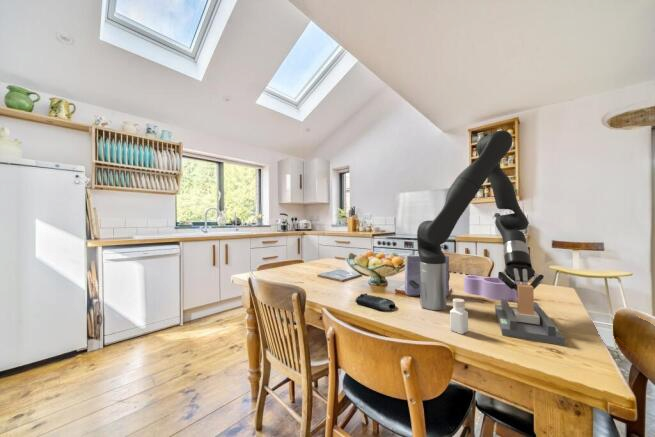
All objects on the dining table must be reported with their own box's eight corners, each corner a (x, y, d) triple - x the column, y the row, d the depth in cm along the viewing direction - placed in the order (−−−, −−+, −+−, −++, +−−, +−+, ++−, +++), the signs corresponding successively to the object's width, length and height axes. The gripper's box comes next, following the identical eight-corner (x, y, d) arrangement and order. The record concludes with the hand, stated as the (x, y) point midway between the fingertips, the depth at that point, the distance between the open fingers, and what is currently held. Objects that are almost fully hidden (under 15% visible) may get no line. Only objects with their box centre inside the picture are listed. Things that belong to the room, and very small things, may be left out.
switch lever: (512, 315, 84) (512, 282, 84) (535, 318, 81) (535, 284, 81) (515, 321, 80) (514, 286, 80) (539, 324, 77) (539, 288, 77)
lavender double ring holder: (460, 294, 116) (460, 278, 116) (469, 288, 125) (469, 273, 125) (515, 304, 102) (515, 286, 102) (520, 296, 111) (520, 280, 111)
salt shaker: (462, 335, 77) (462, 303, 76) (449, 330, 80) (448, 299, 80) (469, 331, 79) (468, 300, 79) (456, 327, 82) (455, 297, 82)
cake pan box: (448, 293, 117) (447, 254, 117) (452, 296, 112) (451, 255, 112) (404, 292, 119) (403, 254, 118) (406, 296, 114) (406, 256, 113)
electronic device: (354, 309, 104) (387, 312, 94) (353, 295, 105) (386, 296, 95) (367, 306, 111) (399, 308, 101) (366, 292, 112) (398, 294, 102)
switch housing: (494, 310, 95) (494, 297, 95) (543, 316, 89) (543, 303, 89) (502, 335, 76) (502, 319, 76) (565, 345, 69) (564, 328, 69)
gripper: (495, 248, 94) (499, 291, 83) (541, 250, 88) (553, 297, 77) (494, 261, 99) (498, 303, 88) (538, 263, 92) (548, 309, 82)
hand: (523, 300), depth 82 cm, fingers closed
